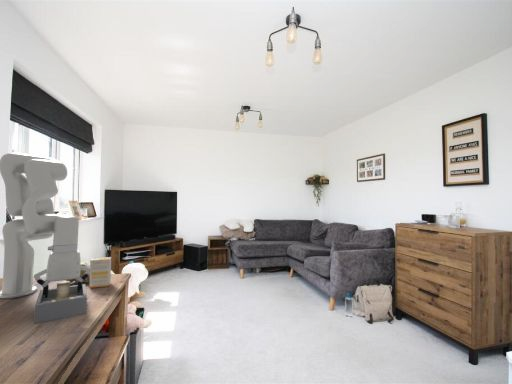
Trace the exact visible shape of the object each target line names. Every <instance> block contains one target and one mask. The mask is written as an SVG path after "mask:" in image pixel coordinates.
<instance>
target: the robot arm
mask: <svg viewBox="0 0 512 384" xmlns="http://www.w3.org/2000/svg"><path fill="white" fill-rule="evenodd" d="M24 174H25V175H24ZM0 176H1V178H2V180H3V183H4V187H5V188H4V190H5V206H6V212H7V214H8V215H9V216H12V217H22V218H21V219H13V220H10V221H7V222H5V224H4V225H3V226H2V236H3V237H2V238H3V243H4V244H3V246H4V253H3V256H4V257H3V272H2V287H1V288H2V289H1V290H0V299H15V298H21V297H25V296H28V295H31V294H33V293H35V292H36V291H38V286H35V285H33V282H34V279H35V281H36V283H37V284H39V286H41V287H42V290H43V295H45V298H47V297H48V289H50V287H49V286H50V285H49V284H50V283H51V282H52V283H53V282H63V281H66V280H70V279H77V280H78V282H77V285H78V286H77V293H80V290H82V284H83V283H84V282H83V280H84V279H86V278H87V277H88V275H89V273H90V272H91V268H88V267H85V266H82V264H81V262H82V261H81V253H80V250H78V242H79V227H80V225H79V223H80V221H79V217H78V216H76V215H69V214H66V213H55V211H54V210H55V209H54V203H53V200H52V198H53V197H55V196H56V195H57V194H58V193H59V192H58V191H59V189H58V186H57V184H56V181H57V182H58V181H60V182H62V181H64V180H66V178H67V176H68V168H67V166H66V165H65V164H64V162H62V161H60V160H57V159H55V158H52V157H47V156H41V155H36V154H35V155H34V154H28V153H20V152H9V153H5V154H3V155H2V156H1V158H0ZM52 237H53V239H52V245H51V246H47V251H51V252H50V253H49V256H48V260H47V265H46V266H47V267H46V268H45V269H43V270H41V271H40V272H37V273H36V274H34V264H35V249H34V248H33V246H32V245H31V244H30V243H29V242H30V241H37V240H46V239H49V238H52ZM81 270H84V271H86V273H85V274H84V275H83V276H81V275H80V271H81ZM44 275H46V279H45V280H43V279H42V278H41V277H42V276H44ZM33 278H34V279H33Z"/></svg>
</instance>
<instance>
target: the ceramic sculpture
mask: <svg viewBox="0 0 512 384" xmlns="http://www.w3.org/2000/svg"><path fill="white" fill-rule="evenodd" d="M81 265H82V266H85V267H88V268H90V265H89V264H88V263H84V264H83V263H82V264H81ZM85 273H86V271H84V270H81V271H80V275H81V276H83V275H84V274H85ZM65 281H70V284H72V283H74V282H75V283H78V280H77V279H70V280H65ZM84 282H85V283H90V273H89V275H88V277H87V278H86V279H84V280H83V282H82V283H84Z"/></svg>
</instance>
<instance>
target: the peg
mask: <svg viewBox="0 0 512 384" xmlns="http://www.w3.org/2000/svg"><path fill="white" fill-rule="evenodd" d="M70 286H71V283H70V281H66V280H62V281H58V283H56V288H57V294H56V301H60V300H66V299H69V296H70Z"/></svg>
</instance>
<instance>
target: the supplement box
mask: <svg viewBox="0 0 512 384" xmlns="http://www.w3.org/2000/svg"><path fill="white" fill-rule="evenodd" d="M89 263H90V265H89V266H90V268H91V272H90V281H89V287H88V288H90V289H91V288H92V289H93V288H104V287H105V288H106V287H110V285H111V281H112V280H111V278H112V256H109V257H107V256H106V257H92V258H91V259H90V262H89Z"/></svg>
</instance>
